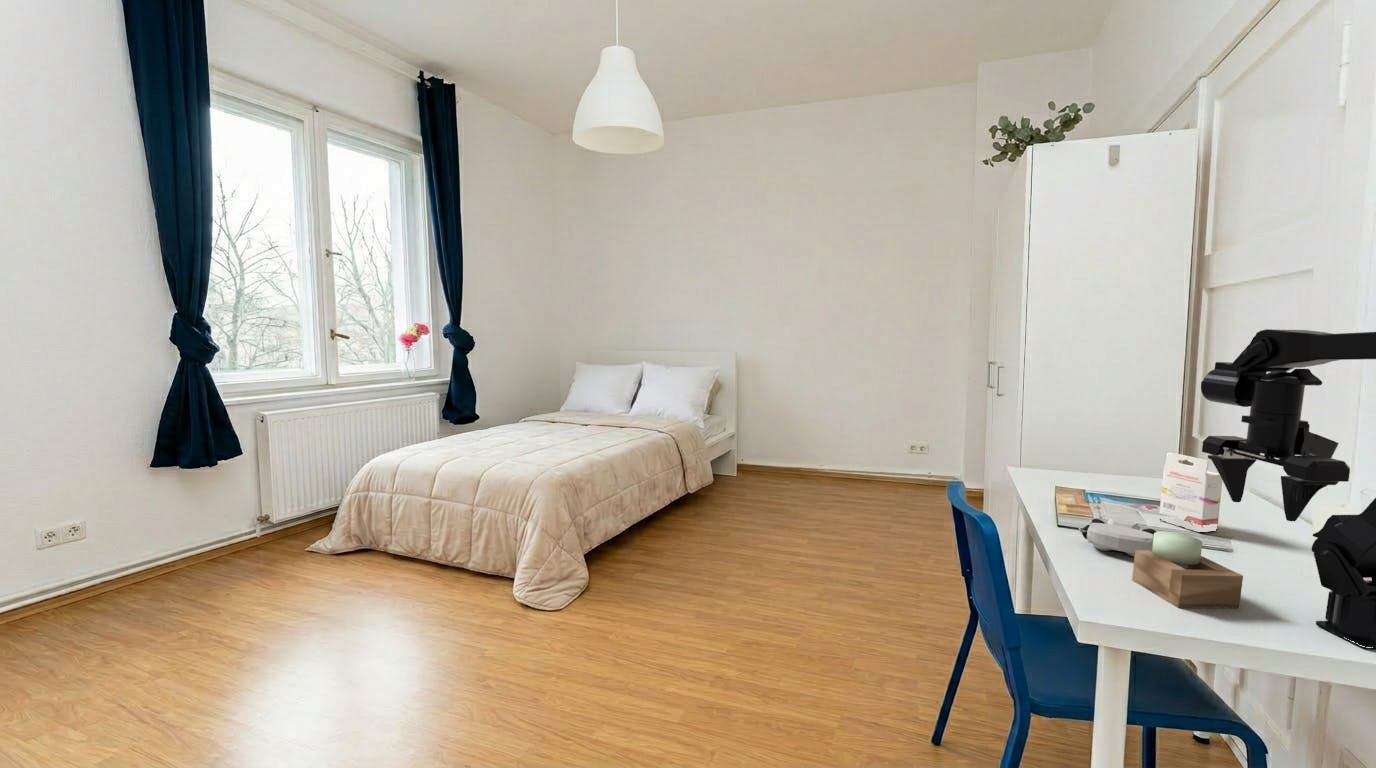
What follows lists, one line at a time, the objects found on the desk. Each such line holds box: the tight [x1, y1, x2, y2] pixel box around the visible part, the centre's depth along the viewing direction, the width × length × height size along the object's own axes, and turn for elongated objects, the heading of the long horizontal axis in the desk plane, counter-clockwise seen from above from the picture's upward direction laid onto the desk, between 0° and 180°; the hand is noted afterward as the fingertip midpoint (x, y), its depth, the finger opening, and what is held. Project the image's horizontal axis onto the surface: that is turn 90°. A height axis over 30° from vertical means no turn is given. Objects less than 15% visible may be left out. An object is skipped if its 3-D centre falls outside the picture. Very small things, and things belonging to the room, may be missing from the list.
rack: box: [1131, 550, 1244, 609], centre depth 97 cm, size 10×9×5 cm
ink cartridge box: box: [1159, 451, 1223, 525], centre depth 128 cm, size 9×5×15 cm, turn 17°
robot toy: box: [1078, 518, 1157, 558], centre depth 116 cm, size 12×4×15 cm
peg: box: [1152, 531, 1203, 570], centre depth 99 cm, size 6×6×6 cm
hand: (1262, 511), depth 98 cm, fingers open, 9 cm apart
